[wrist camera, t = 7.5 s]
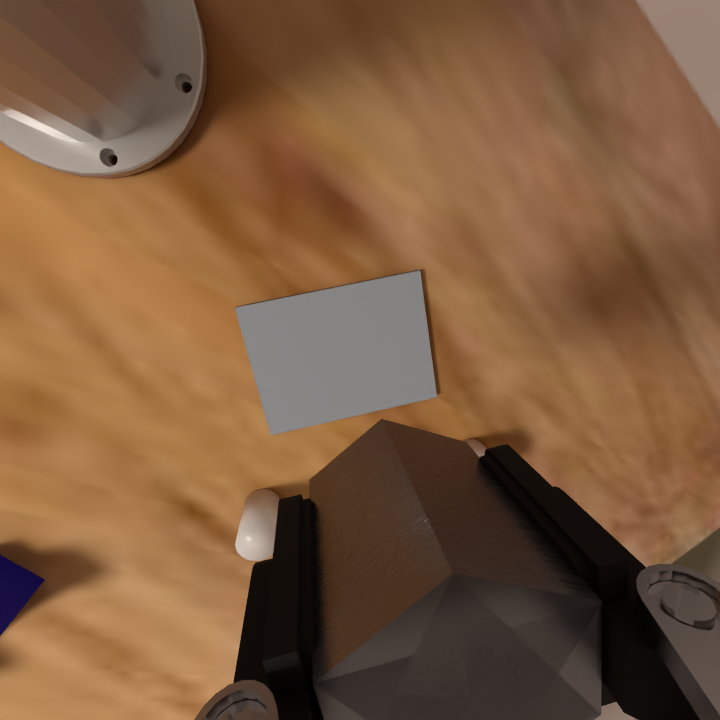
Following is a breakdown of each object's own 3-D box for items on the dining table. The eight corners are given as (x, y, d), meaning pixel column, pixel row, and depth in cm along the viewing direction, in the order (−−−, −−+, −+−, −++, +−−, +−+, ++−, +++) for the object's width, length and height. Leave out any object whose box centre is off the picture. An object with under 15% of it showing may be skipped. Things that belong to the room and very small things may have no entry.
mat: (236, 307, 24) (234, 307, 24) (418, 270, 25) (420, 270, 25) (271, 432, 27) (270, 435, 26) (435, 395, 28) (437, 396, 27)
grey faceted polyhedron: (298, 437, 10) (291, 616, 5) (462, 400, 10) (603, 533, 5) (337, 589, 11) (361, 839, 6) (478, 551, 12) (600, 761, 7)
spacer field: (233, 470, 27) (221, 506, 23) (480, 412, 29) (507, 436, 25) (298, 672, 33) (298, 727, 29) (500, 615, 35) (525, 660, 31)
